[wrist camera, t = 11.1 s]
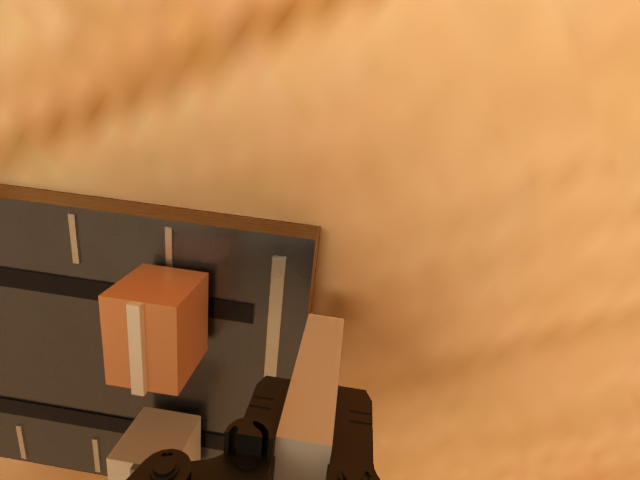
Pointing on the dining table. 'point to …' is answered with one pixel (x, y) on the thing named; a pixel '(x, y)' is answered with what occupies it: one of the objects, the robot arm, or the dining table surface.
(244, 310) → the console
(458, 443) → the dining table surface
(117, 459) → the fader ivory
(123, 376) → the fader terracotta
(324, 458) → the robot arm
